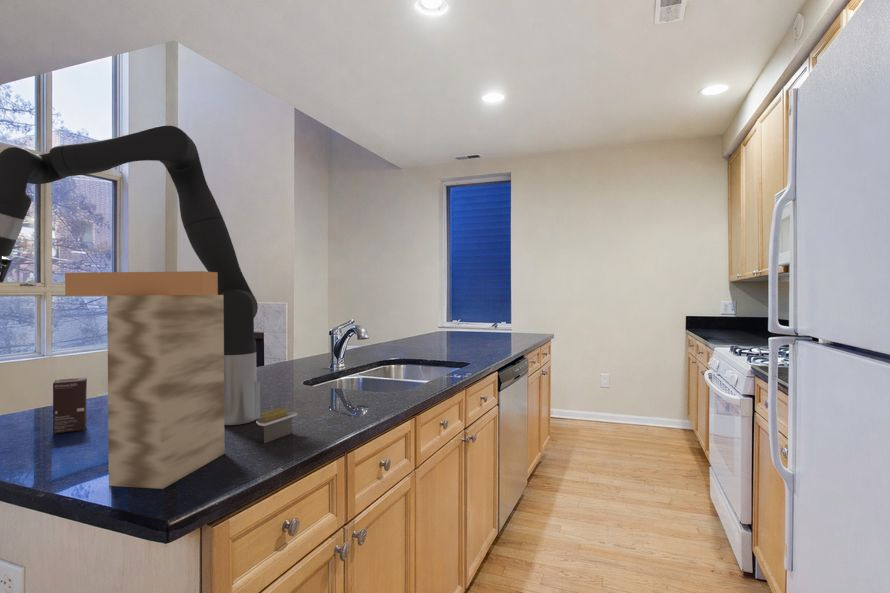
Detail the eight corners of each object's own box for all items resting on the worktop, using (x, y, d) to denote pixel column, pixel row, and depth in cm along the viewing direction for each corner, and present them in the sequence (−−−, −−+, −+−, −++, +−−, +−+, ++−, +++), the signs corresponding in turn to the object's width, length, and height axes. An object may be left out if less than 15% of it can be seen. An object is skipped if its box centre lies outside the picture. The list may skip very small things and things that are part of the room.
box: (52, 435, 106) (51, 382, 106) (55, 430, 110) (54, 379, 110) (85, 430, 110) (85, 379, 110) (87, 426, 113) (86, 377, 113)
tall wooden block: (108, 485, 78) (107, 295, 78) (179, 451, 95) (177, 295, 95) (163, 488, 77) (161, 295, 76) (224, 453, 94) (223, 294, 93)
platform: (222, 447, 98) (222, 417, 98) (285, 425, 115) (285, 399, 115) (263, 456, 93) (263, 423, 93) (323, 431, 109) (323, 404, 109)
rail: (65, 295, 81) (65, 272, 81) (85, 295, 85) (85, 273, 85) (203, 295, 78) (202, 271, 78) (217, 295, 82) (217, 272, 82)
